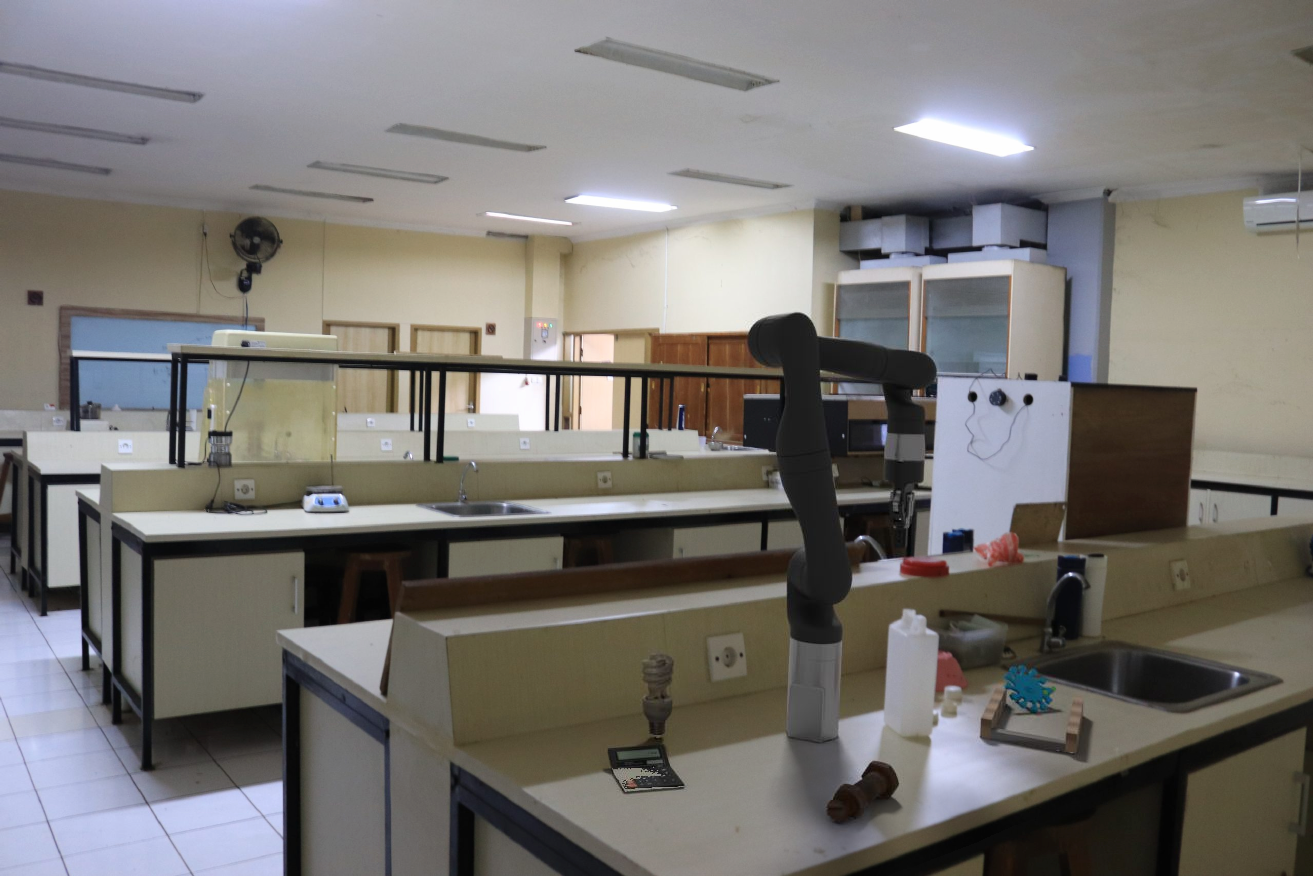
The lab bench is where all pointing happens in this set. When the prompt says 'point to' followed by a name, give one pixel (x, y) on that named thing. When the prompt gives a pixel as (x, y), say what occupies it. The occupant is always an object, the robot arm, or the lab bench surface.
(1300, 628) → the lab bench surface
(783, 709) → the lab bench surface
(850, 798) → the bolt
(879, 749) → the lab bench surface
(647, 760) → the calculator
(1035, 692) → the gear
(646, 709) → the light bulb
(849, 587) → the robot arm
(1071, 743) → the chute
